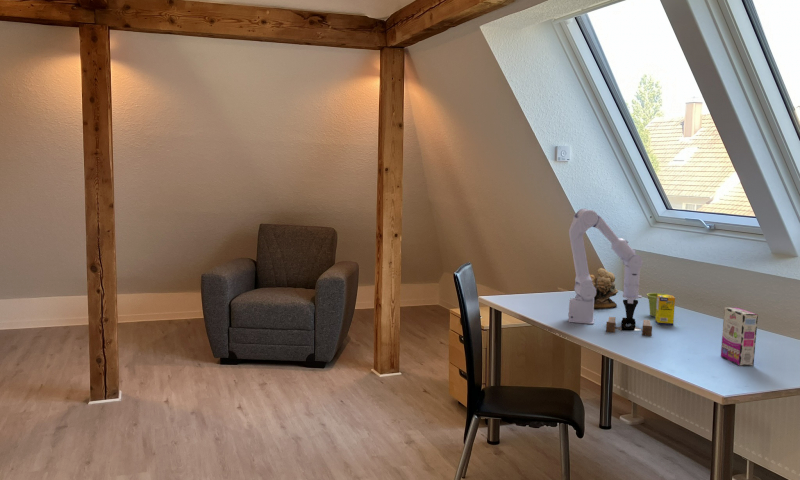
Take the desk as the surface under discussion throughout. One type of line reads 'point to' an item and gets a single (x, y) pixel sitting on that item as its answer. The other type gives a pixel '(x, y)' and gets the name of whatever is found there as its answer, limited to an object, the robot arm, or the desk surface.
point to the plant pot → (653, 302)
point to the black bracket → (628, 328)
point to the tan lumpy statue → (604, 289)
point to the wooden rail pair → (645, 331)
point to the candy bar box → (739, 336)
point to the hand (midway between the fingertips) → (629, 318)
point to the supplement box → (665, 309)
